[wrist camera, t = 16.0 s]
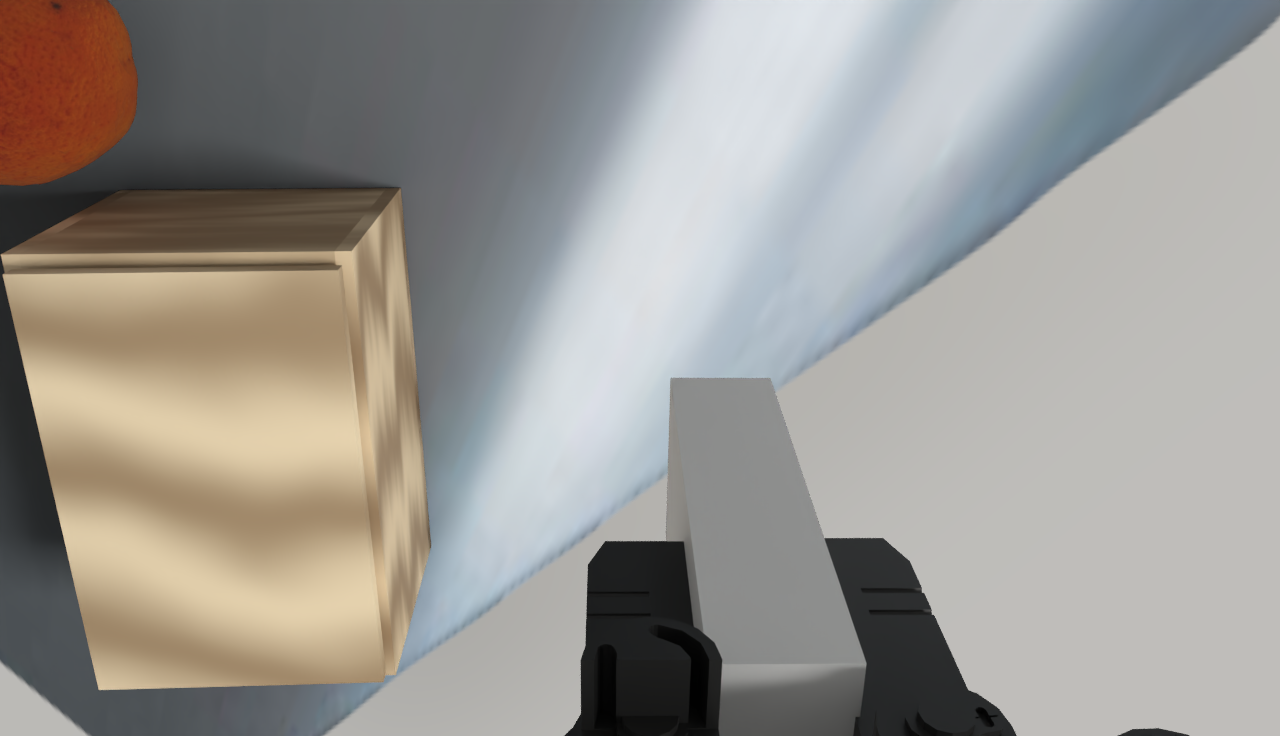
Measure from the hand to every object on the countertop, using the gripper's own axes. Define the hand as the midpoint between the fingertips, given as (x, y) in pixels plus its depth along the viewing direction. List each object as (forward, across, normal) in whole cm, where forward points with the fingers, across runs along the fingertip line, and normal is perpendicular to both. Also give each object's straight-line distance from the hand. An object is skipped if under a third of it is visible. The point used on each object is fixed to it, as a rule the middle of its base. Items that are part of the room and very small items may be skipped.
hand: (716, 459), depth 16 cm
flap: (+21, -16, -13) cm, 29 cm away
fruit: (+32, -24, +2) cm, 40 cm away
